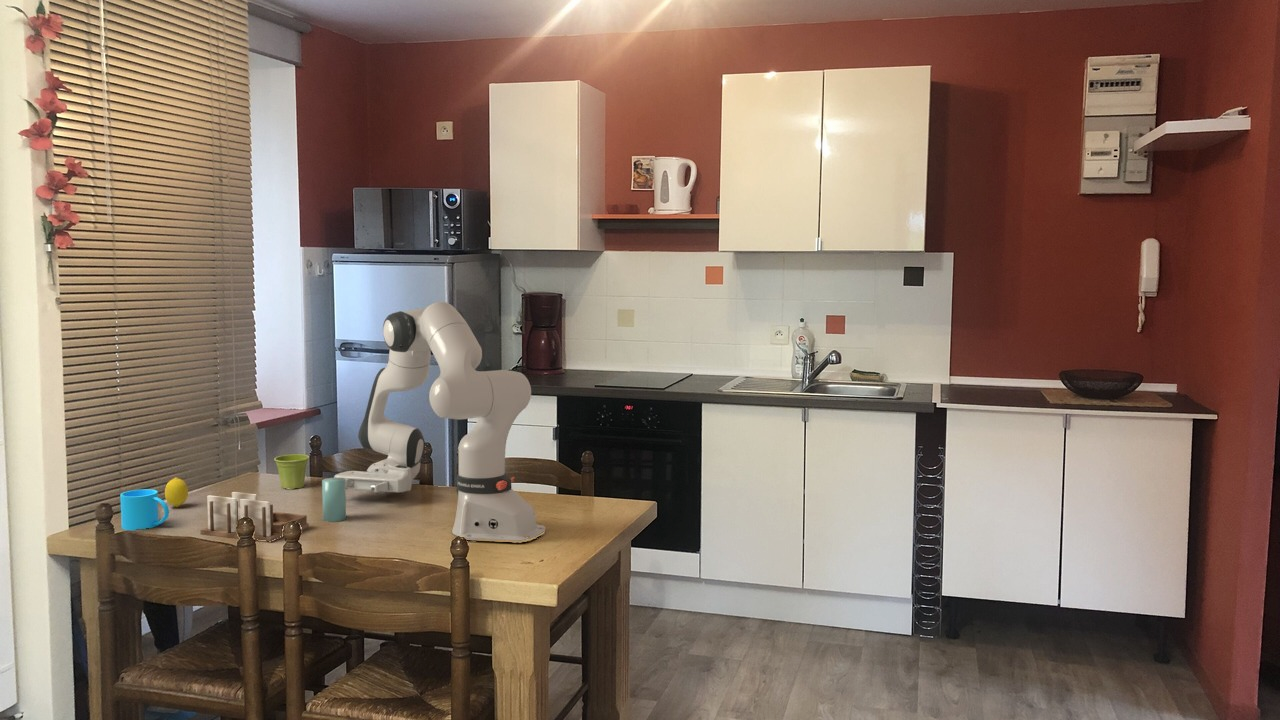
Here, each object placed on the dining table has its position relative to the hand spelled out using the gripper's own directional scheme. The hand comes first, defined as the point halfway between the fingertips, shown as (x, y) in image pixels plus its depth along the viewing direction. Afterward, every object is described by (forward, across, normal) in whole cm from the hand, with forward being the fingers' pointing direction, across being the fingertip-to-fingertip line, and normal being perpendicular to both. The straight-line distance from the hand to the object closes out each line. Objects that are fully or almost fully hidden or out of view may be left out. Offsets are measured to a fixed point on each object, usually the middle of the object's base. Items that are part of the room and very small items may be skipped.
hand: (357, 488), depth 264 cm
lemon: (+12, -45, +6) cm, 47 cm away
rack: (+26, -12, +5) cm, 30 cm away
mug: (+30, -40, +6) cm, 50 cm away
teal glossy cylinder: (+11, 0, +6) cm, 12 cm away
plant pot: (-16, -30, +6) cm, 35 cm away
